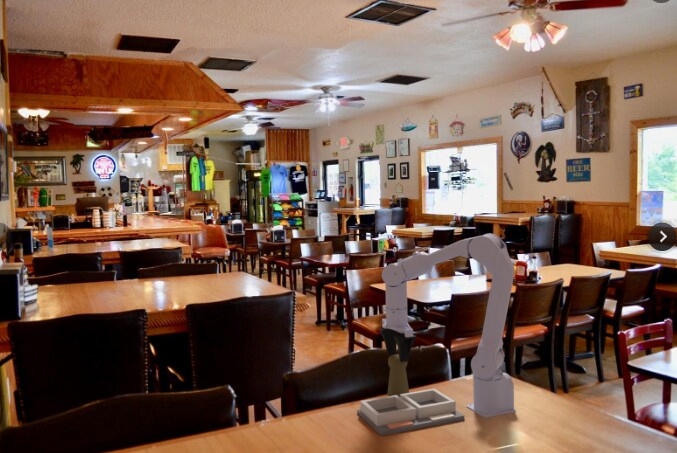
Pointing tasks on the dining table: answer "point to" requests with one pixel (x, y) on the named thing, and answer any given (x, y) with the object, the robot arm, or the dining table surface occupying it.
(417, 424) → the caddy
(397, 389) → the cork
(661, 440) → the dining table surface
